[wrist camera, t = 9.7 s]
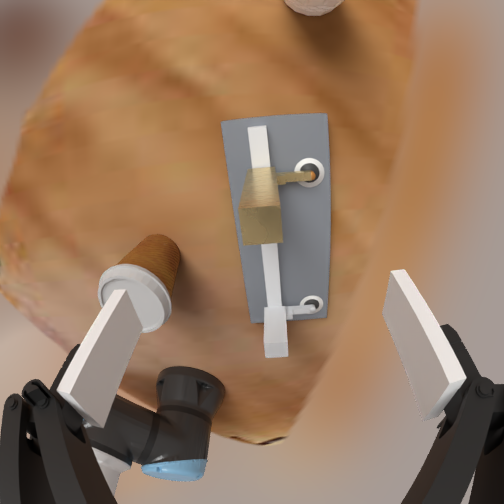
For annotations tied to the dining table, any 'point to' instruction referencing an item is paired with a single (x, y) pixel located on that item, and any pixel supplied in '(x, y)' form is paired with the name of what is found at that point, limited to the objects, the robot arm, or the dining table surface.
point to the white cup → (313, 6)
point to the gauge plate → (285, 220)
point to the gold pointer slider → (264, 204)
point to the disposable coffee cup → (145, 280)
